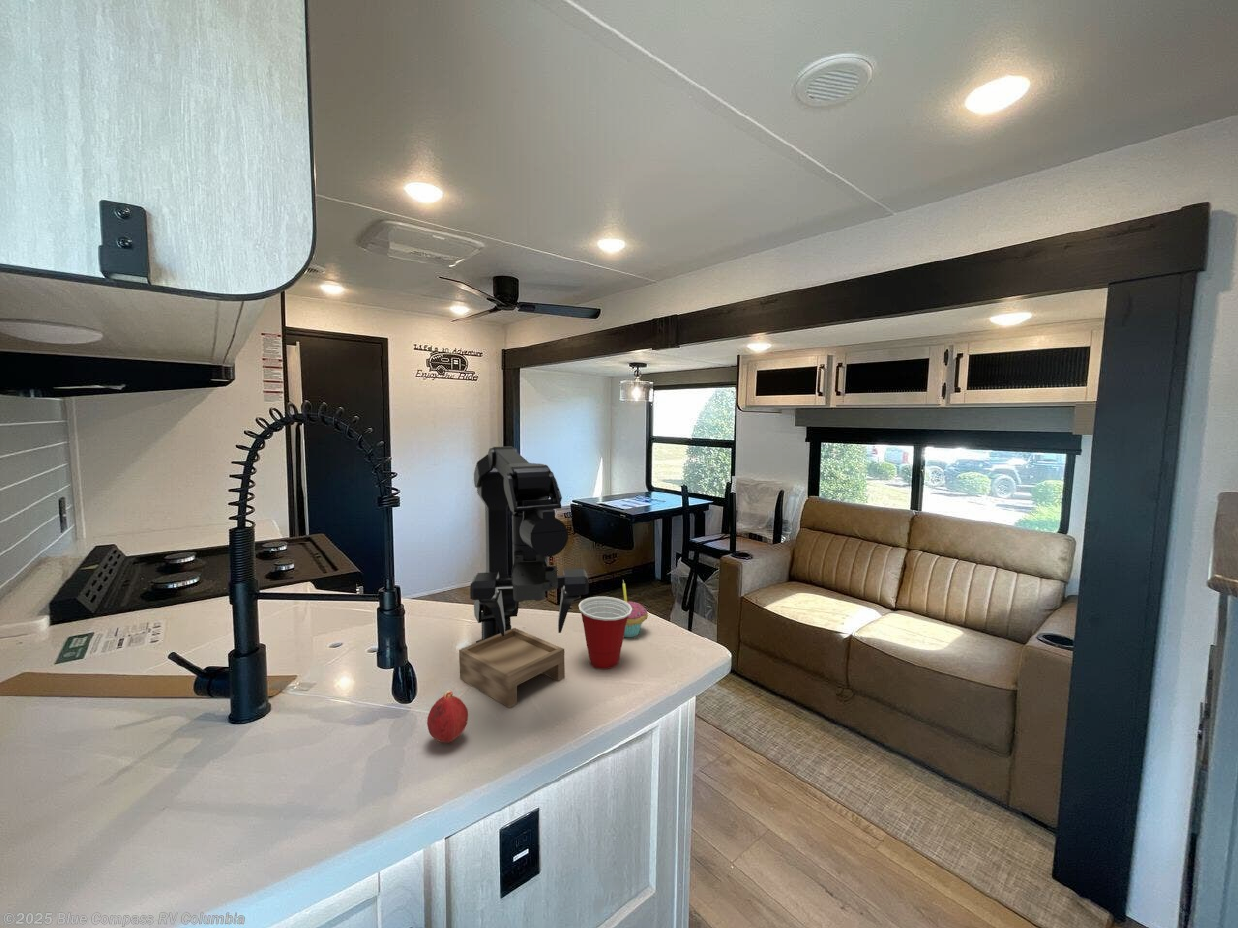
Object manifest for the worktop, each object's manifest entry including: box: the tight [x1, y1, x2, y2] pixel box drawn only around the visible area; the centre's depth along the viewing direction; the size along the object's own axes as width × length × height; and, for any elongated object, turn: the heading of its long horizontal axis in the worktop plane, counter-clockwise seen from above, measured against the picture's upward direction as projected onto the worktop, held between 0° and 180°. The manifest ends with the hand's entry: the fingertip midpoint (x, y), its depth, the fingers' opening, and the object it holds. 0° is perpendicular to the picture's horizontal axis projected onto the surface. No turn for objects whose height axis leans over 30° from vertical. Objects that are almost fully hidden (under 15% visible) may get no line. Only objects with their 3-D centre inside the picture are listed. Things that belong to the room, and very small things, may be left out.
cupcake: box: [622, 579, 649, 638], centre depth 113 cm, size 9×8×12 cm
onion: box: [426, 690, 469, 744], centre depth 75 cm, size 6×6×8 cm
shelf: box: [458, 627, 566, 709], centre depth 93 cm, size 15×13×6 cm
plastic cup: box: [578, 596, 632, 670], centre depth 99 cm, size 11×11×12 cm
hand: (531, 633), depth 82 cm, fingers open, 9 cm apart
